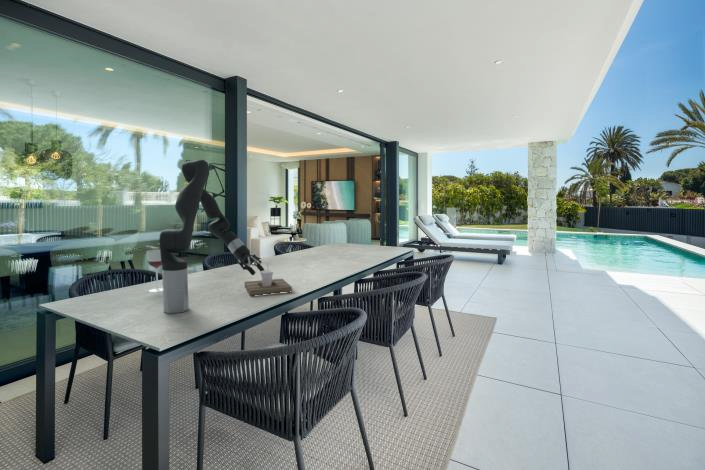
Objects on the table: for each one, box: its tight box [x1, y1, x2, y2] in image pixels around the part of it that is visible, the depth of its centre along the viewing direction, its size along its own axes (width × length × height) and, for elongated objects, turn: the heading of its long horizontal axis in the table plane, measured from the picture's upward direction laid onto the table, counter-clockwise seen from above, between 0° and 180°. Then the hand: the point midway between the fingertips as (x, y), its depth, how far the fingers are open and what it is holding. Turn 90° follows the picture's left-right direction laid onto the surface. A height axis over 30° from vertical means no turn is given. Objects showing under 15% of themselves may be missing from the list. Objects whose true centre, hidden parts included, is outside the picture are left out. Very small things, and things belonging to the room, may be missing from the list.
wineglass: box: [145, 248, 163, 293], centre depth 178 cm, size 8×9×20 cm
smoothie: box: [260, 262, 274, 287], centre depth 181 cm, size 6×6×14 cm
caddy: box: [244, 278, 293, 297], centre depth 181 cm, size 20×20×3 cm
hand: (258, 272), depth 182 cm, fingers open, 8 cm apart
